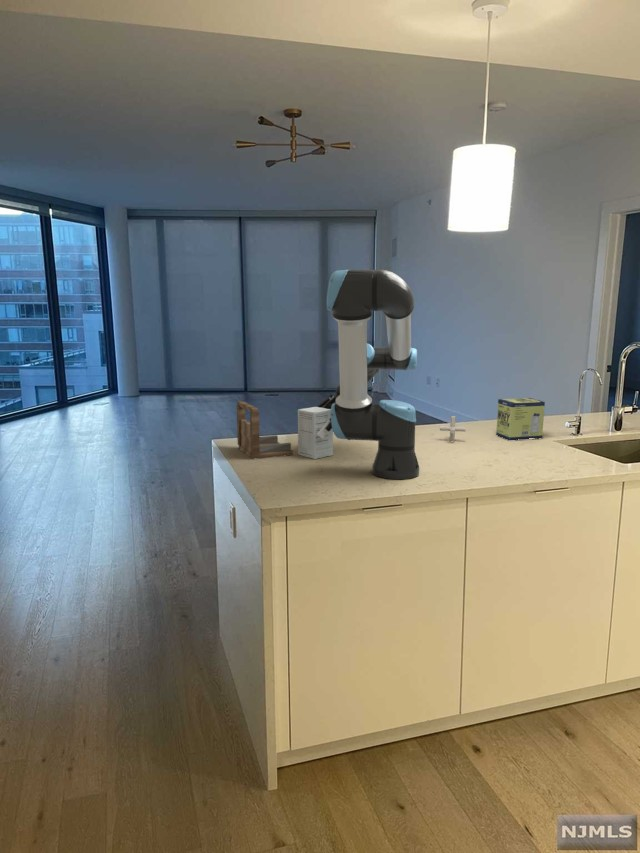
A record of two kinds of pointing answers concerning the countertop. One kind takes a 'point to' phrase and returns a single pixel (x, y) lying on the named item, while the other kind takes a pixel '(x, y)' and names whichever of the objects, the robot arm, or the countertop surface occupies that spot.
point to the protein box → (520, 418)
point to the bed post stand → (257, 435)
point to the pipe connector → (452, 428)
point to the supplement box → (314, 433)
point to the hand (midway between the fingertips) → (311, 433)
